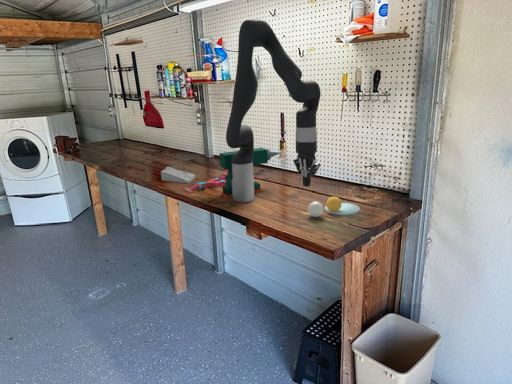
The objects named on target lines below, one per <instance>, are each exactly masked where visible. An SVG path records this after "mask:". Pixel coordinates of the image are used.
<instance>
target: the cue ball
mask: <svg viewBox="0 0 512 384" xmlns="http://www.w3.org/2000/svg"><path fill="white" fill-rule="evenodd" d="M307 211H308V214H309V215H310V216H311V217H314V218H319V217H321V215H323V213H324V211H325V207H324V205H323V204H322V203H321V202H320V201H312V202H310V203H309V205H308V207H307Z"/></svg>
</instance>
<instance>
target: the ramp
mask: <svg viewBox="0 0 512 384" xmlns="http://www.w3.org/2000/svg"><path fill="white" fill-rule="evenodd" d="M160 178H161V181H164V182H174V183H180V184H181V183H183V184H189V183H191V182H192V181H194V180H195V179H196V175H195V174H194V173H190V172H187V171H185V170H184V171H183V170H180V169H179V170H178V169H176V168H174V167H171V166H166V168H164V169H162V170H161V171H160Z"/></svg>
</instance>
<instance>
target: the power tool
mask: <svg viewBox="0 0 512 384" xmlns="http://www.w3.org/2000/svg"><path fill="white" fill-rule="evenodd" d="M238 151H239V150H233V151H225V152H219V153H218V154H219V165H220V168H222V169H224V170H227V172H228V173H227V179H226V185H225V186H221V187H222V188H221V189H222V192H221V195H222V197H224V198H225V199H228V198H233V195H232V179H233V172H232V156H233V155H235V154H236V153H237V152H238ZM280 154H281V152H279V151H278V152H277V151H271V150H270V149H268V148H264V147H257V148H255V147H254V155H253V166H258V165H265V164H268V163H269V161H270V160H271V159H272V157H274V156H278V155H280ZM261 192H263V189H262V188H261V183H259V182H258V181H255V180H254V194H255V193H261Z"/></svg>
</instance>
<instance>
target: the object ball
mask: <svg viewBox="0 0 512 384" xmlns="http://www.w3.org/2000/svg"><path fill="white" fill-rule="evenodd" d="M342 203H343V202H342V201H341V199H340V198H339V197H337V196H331V197H329V198H328V199H327V201H326V204H325V206H327V208H328V209H329V210H330V211H333V212H335V211H338V210H339V209H340V208H341V205H342Z"/></svg>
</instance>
